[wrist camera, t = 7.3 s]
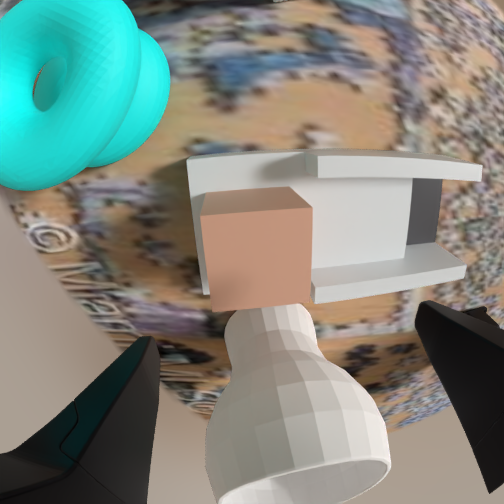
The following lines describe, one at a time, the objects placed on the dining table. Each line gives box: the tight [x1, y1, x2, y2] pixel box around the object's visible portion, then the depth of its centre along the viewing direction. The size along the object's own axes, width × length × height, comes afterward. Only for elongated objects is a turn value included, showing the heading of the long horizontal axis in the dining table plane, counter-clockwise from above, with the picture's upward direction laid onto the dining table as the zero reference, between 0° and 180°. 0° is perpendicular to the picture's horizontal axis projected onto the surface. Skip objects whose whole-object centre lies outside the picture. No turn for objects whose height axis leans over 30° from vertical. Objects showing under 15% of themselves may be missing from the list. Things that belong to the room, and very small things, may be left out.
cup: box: [206, 303, 391, 504], centre depth 18 cm, size 11×11×15 cm
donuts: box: [0, 0, 170, 191], centre depth 12 cm, size 10×10×10 cm
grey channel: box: [186, 149, 482, 304], centre depth 19 cm, size 9×20×5 cm, turn 94°
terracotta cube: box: [200, 186, 313, 312], centre depth 16 cm, size 5×5×5 cm
